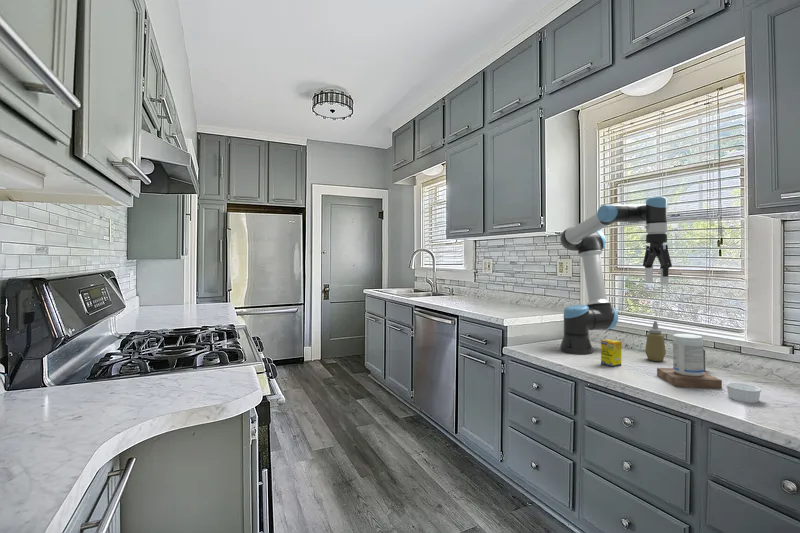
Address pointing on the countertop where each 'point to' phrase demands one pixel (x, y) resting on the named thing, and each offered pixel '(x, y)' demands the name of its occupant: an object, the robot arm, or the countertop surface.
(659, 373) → the walnut plinth
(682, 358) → the supplement tub
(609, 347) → the supplement box
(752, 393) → the ramekin
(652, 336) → the squeeze bottle
